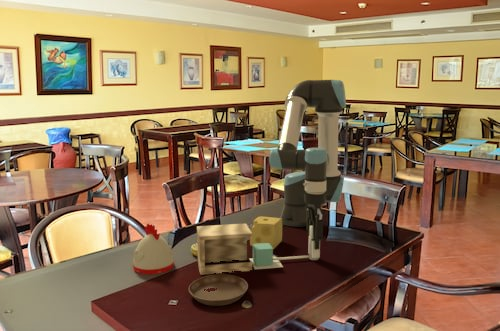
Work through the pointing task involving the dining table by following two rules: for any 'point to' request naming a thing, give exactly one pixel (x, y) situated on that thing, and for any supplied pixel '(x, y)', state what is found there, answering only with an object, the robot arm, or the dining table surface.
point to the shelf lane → (222, 247)
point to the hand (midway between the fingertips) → (313, 255)
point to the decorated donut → (194, 249)
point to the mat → (275, 265)
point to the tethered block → (265, 253)
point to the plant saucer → (218, 289)
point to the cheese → (266, 231)
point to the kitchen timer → (152, 253)
